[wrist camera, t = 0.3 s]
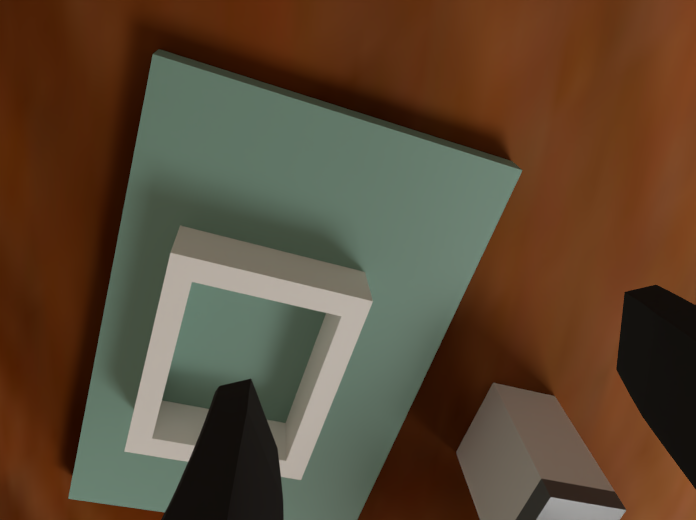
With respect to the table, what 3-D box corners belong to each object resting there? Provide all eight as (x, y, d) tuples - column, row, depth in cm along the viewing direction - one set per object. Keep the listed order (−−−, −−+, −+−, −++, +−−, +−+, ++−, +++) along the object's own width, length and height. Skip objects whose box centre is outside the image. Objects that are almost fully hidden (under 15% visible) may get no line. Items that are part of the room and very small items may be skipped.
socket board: (346, 519, 28) (353, 578, 25) (75, 479, 25) (52, 541, 23) (512, 160, 21) (546, 191, 18) (158, 49, 18) (138, 65, 15)
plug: (514, 463, 28) (572, 585, 22) (455, 452, 27) (499, 575, 22) (554, 395, 26) (626, 510, 21) (493, 382, 25) (550, 497, 20)
